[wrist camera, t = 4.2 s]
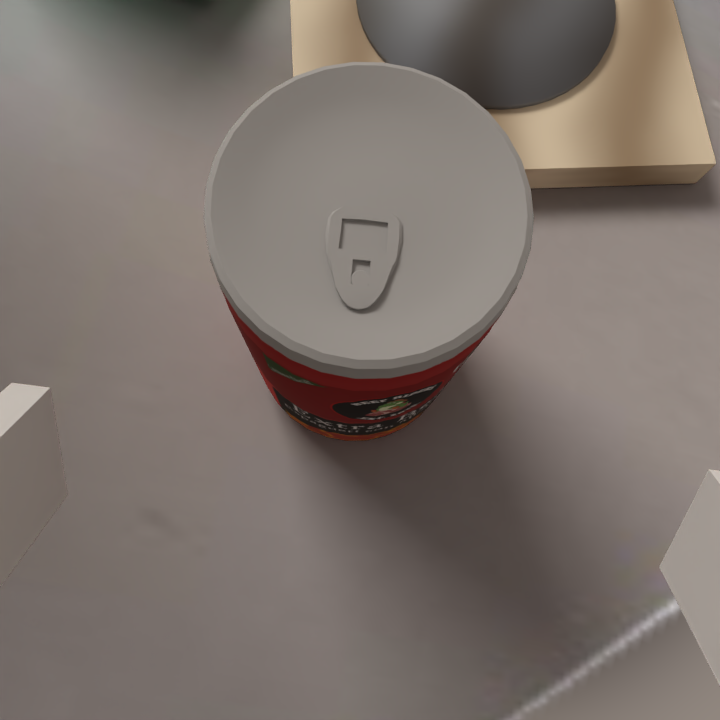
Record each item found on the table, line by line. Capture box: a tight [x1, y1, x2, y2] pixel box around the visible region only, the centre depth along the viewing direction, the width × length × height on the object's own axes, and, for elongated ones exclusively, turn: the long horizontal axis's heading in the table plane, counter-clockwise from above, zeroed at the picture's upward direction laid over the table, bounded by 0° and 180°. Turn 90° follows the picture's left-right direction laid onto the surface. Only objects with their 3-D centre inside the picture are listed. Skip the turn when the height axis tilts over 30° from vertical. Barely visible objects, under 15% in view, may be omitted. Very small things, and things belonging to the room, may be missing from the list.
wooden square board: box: [290, 0, 716, 188], centre depth 28 cm, size 18×18×2 cm
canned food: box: [204, 62, 534, 441], centre depth 18 cm, size 8×8×11 cm
